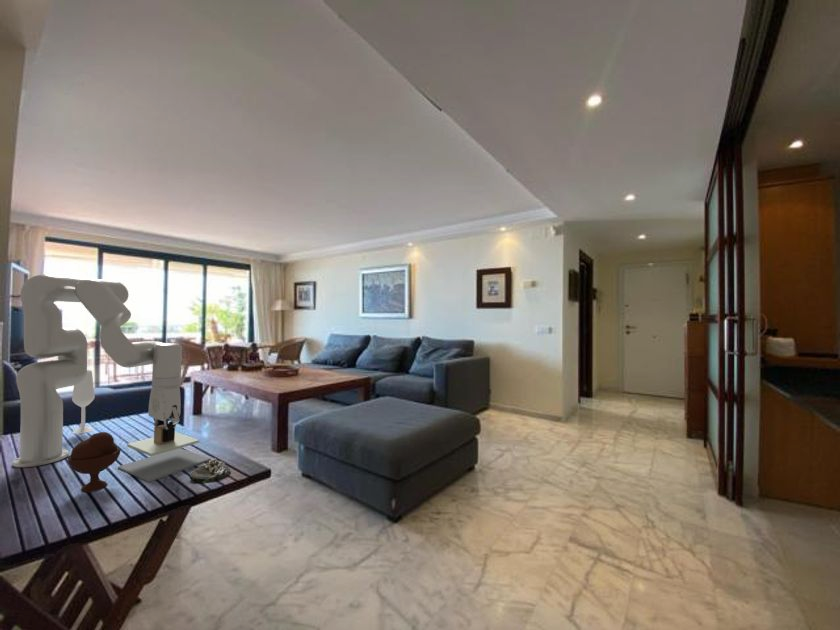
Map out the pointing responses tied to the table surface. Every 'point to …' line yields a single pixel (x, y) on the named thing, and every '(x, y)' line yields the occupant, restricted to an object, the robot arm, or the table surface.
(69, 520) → the table surface
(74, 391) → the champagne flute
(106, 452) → the ice cream bowl
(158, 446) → the cover
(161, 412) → the robot arm
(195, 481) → the grey green irregular lump
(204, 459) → the mat
